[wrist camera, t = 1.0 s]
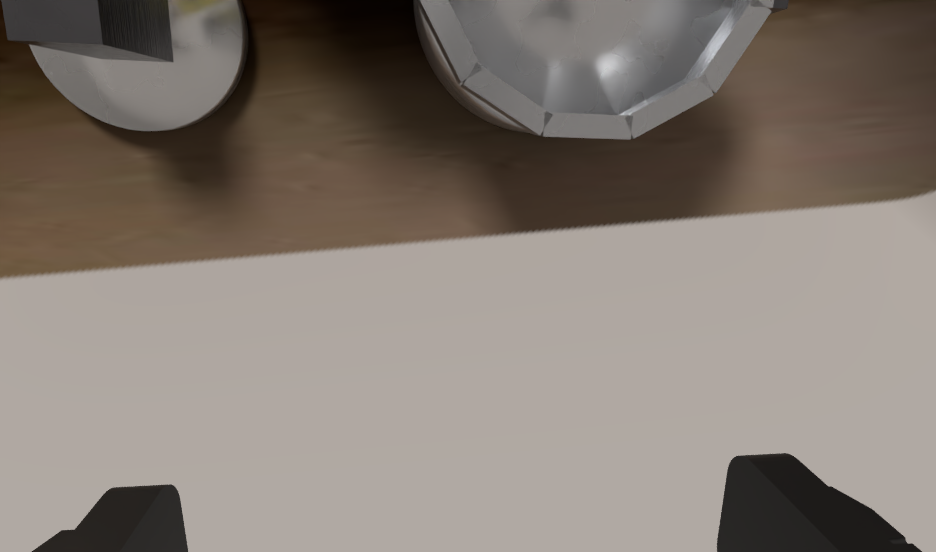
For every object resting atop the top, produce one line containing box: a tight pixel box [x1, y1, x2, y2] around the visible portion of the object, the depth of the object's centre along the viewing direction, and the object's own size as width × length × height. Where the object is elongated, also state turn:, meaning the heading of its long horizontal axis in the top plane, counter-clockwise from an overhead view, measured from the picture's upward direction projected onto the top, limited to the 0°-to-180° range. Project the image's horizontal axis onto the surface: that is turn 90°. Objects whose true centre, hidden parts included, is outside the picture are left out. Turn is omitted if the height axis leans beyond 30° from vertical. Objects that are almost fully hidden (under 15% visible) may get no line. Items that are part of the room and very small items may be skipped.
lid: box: [1, 0, 248, 131], centre depth 22 cm, size 9×9×7 cm
